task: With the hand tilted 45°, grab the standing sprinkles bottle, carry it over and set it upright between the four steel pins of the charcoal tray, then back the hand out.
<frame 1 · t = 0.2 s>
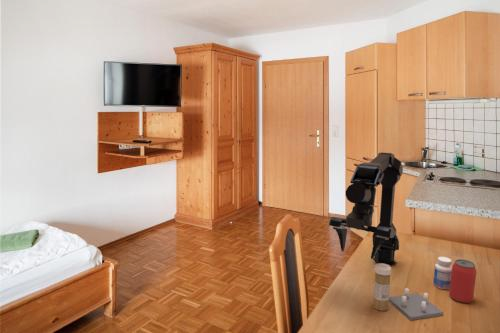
hand: (357, 254, 110), 15 cm above the table, tool tilted 15°, fingers open, 9 cm apart
beer can: (460, 298, 114), on the table
sprinkles bottle: (380, 307, 109), on the table
pill bottle: (441, 286, 122), on the table
pin tray: (414, 307, 109), on the table
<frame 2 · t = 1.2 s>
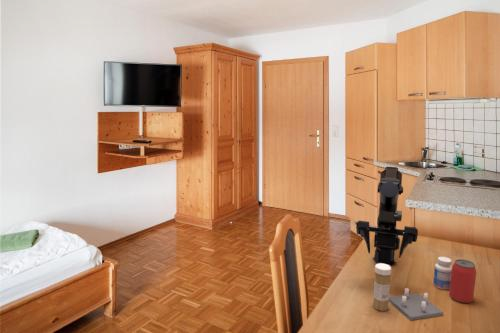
hand: (384, 255, 114), 13 cm above the table, tool tilted 45°, fingers open, 9 cm apart
nothing on the table moved.
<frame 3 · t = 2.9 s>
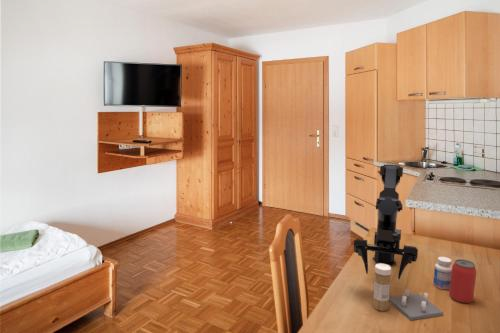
hand: (382, 275, 109), 9 cm above the table, tool tilted 45°, fingers open, 9 cm apart
nothing on the table moved.
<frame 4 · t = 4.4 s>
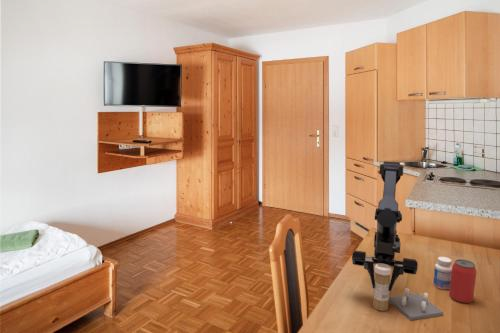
hand: (381, 289, 107), 7 cm above the table, tool tilted 45°, fingers closed on sprinkles bottle, 4 cm apart
sprinkles bottle: (380, 307, 109), on the table, touching gripper
everything else where it was.
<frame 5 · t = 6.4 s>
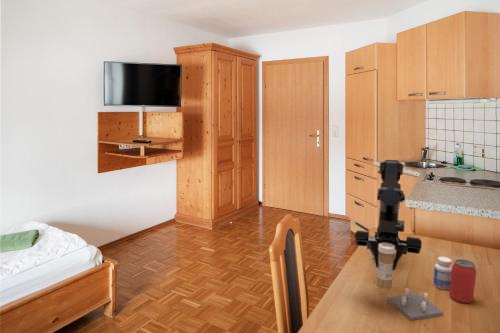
hand: (385, 268, 106), 13 cm above the table, tool tilted 45°, fingers closed on sprinkles bottle, 4 cm apart
sprinkles bottle: (383, 287, 108), point 6 cm above the table, touching gripper
everything else where it was.
when the fingers open (9 cm above the table, at t = 8.5 s): sprinkles bottle drops 2 cm, resting on pin tray.
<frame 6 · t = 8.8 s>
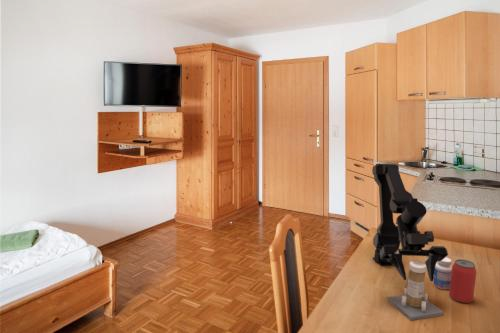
hand: (418, 280, 106), 10 cm above the table, tool tilted 45°, fingers open, 7 cm apart
sprinkles bottle: (413, 304, 109), point 1 cm above the table, touching pin tray
everything else where it was.
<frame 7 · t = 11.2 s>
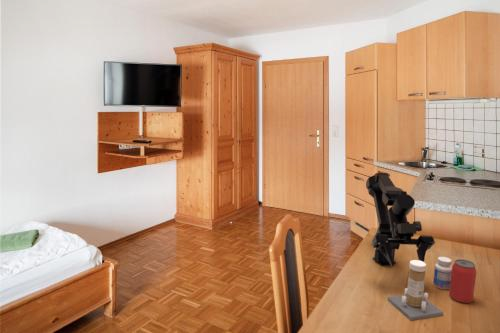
hand: (407, 266, 115), 9 cm above the table, tool tilted 45°, fingers open, 9 cm apart
nothing on the table moved.
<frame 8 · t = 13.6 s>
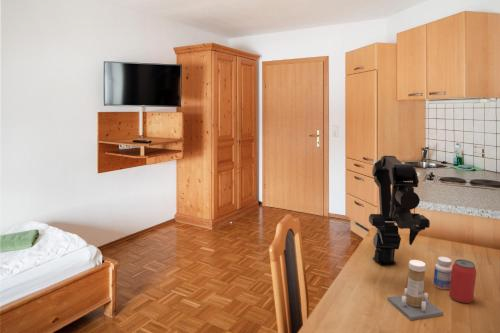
hand: (396, 244, 124), 13 cm above the table, tool pointing down, fingers open, 9 cm apart
nothing on the table moved.
at the end: sprinkles bottle 0.2 cm off-centre on the pin tray, point 0.8 cm above the pin tray's base; sprinkles bottle tilted 1°; the gripper is holding nothing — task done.
